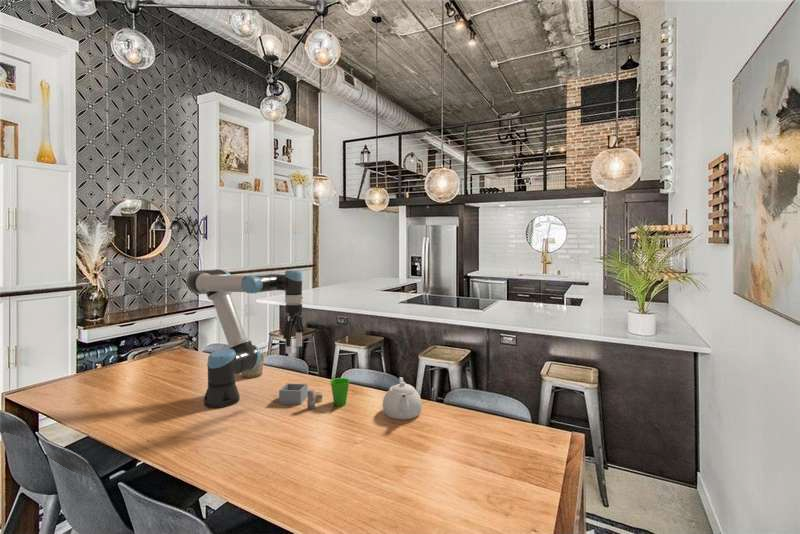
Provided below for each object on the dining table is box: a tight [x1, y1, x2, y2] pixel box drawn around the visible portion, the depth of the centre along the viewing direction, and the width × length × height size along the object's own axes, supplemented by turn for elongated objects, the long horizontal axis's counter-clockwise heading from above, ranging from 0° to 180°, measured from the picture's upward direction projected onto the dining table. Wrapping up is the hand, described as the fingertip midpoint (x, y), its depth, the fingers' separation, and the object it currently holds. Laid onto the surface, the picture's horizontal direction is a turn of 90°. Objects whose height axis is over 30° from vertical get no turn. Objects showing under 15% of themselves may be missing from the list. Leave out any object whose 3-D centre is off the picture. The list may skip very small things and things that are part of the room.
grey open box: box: [278, 382, 309, 405], centre depth 184 cm, size 10×10×7 cm
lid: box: [307, 389, 316, 411], centre depth 174 cm, size 12×12×9 cm
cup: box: [329, 377, 351, 408], centre depth 181 cm, size 9×9×11 cm
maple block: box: [315, 391, 323, 403], centre depth 184 cm, size 4×4×4 cm
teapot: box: [382, 376, 423, 421], centre depth 173 cm, size 19×18×14 cm
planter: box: [241, 354, 265, 379], centre depth 224 cm, size 13×13×10 cm
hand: (294, 349), depth 183 cm, fingers open, 13 cm apart
